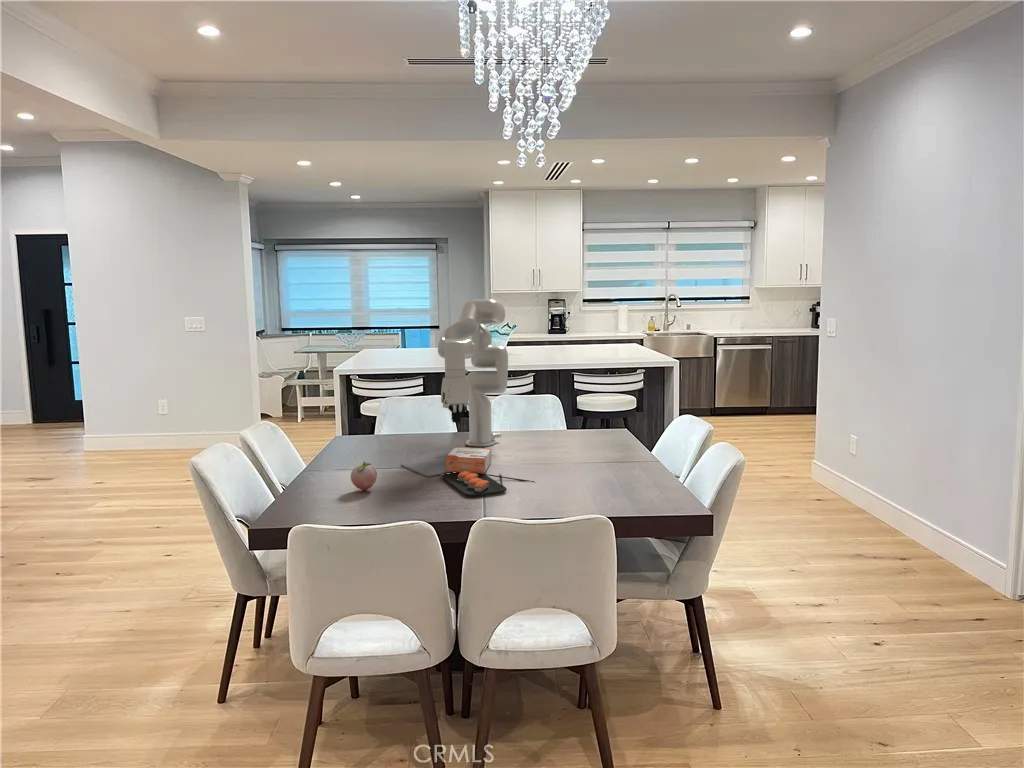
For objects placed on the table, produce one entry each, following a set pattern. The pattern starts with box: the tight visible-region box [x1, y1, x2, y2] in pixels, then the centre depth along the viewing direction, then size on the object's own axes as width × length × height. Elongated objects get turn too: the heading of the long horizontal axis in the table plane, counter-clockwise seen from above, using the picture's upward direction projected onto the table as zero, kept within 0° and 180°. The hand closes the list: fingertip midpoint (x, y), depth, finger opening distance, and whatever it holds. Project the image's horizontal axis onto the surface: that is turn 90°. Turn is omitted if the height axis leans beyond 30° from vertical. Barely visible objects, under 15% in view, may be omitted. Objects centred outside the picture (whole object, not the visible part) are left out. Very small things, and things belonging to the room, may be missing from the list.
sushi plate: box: [441, 471, 535, 497], centre depth 239 cm, size 29×30×4 cm
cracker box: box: [445, 446, 492, 474], centre depth 257 cm, size 14×6×21 cm
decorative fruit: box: [350, 461, 378, 492], centre depth 230 cm, size 9×8×10 cm
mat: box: [400, 456, 453, 478], centre depth 262 cm, size 22×22×1 cm
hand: (456, 422), depth 265 cm, fingers closed
